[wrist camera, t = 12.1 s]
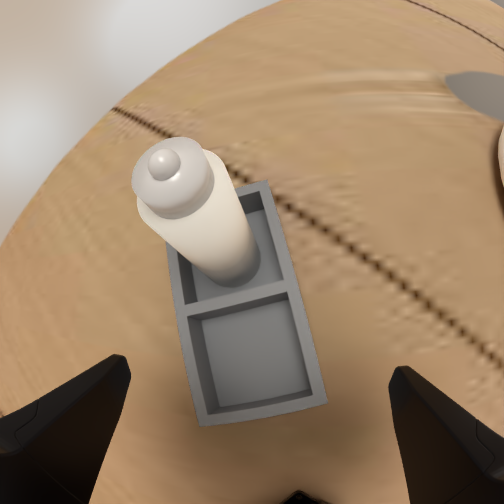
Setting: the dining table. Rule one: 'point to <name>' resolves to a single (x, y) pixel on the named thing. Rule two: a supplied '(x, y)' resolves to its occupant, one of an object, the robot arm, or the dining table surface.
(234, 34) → the dining table surface
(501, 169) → the plate
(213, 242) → the salt mill
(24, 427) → the robot arm
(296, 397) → the condiment caddy
